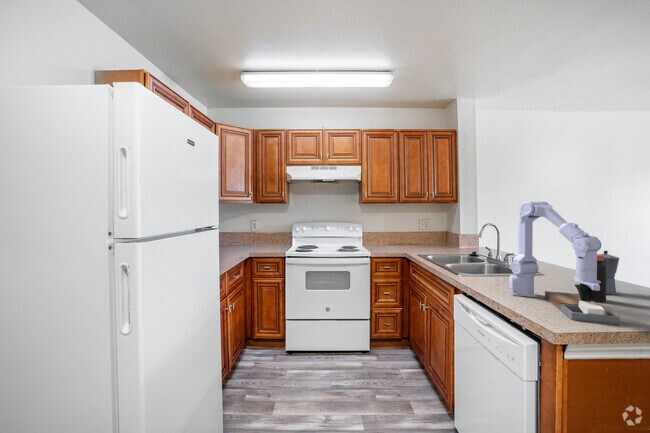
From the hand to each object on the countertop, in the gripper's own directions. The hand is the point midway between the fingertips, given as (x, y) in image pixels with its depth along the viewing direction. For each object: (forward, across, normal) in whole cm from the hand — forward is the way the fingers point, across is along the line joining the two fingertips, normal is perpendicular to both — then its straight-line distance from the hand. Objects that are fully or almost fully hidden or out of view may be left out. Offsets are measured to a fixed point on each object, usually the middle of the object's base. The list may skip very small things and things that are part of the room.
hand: (585, 304), depth 106 cm
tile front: (+1, -5, 0) cm, 5 cm away
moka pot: (+4, +37, -21) cm, 43 cm away
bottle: (+4, +22, -12) cm, 26 cm away
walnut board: (+4, +11, 0) cm, 12 cm away
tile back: (+2, -2, 0) cm, 3 cm away
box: (+4, -3, 0) cm, 5 cm away
